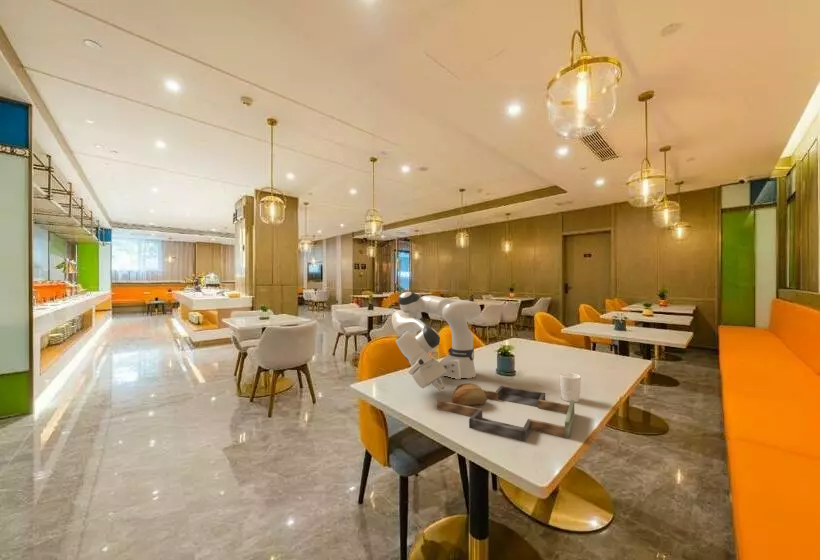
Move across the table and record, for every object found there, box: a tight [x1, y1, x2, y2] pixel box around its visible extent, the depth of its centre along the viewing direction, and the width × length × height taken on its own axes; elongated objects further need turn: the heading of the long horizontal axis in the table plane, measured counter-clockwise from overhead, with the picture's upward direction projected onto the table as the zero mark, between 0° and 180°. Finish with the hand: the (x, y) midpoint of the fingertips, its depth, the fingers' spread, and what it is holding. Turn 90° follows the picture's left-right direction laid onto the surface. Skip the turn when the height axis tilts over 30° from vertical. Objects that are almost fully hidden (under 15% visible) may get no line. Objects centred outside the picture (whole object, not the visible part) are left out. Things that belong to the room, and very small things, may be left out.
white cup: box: [559, 372, 582, 403], centre depth 133 cm, size 8×8×10 cm
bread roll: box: [451, 382, 487, 406], centre depth 129 cm, size 10×15×8 cm, turn 110°
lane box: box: [436, 384, 575, 442], centre depth 122 cm, size 47×39×5 cm
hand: (442, 389), depth 134 cm, fingers closed
